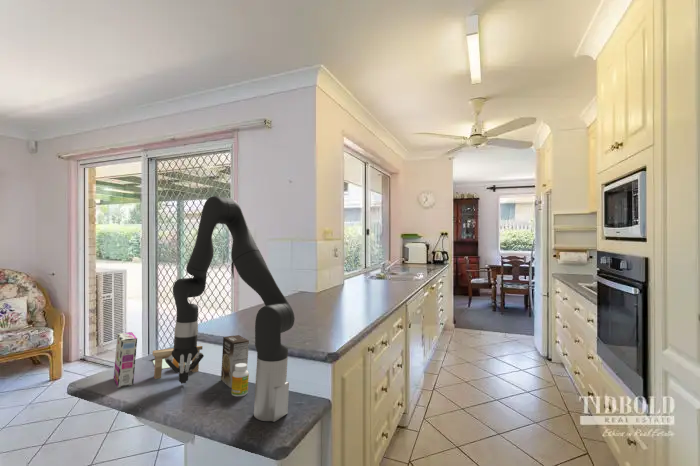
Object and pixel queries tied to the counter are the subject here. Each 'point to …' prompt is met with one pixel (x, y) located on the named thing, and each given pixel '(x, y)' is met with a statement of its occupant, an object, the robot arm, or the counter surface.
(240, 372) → the supplement bottle
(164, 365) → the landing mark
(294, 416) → the counter surface
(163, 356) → the stopper
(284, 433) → the counter surface
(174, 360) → the ball
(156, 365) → the bridge
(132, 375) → the candy bar box
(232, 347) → the coffee box
